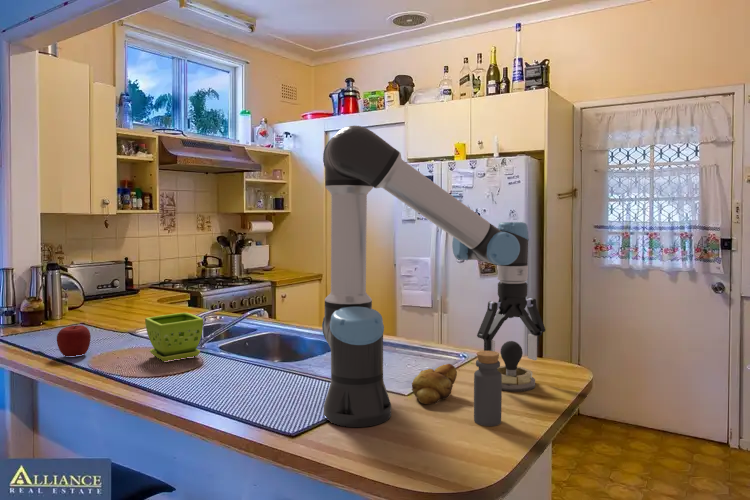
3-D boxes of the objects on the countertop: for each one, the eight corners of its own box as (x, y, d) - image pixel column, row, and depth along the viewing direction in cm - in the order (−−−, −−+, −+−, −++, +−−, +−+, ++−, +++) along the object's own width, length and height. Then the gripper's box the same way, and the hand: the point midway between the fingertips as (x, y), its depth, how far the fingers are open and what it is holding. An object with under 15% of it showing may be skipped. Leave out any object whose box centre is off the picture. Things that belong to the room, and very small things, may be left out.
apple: (53, 361, 169) (51, 329, 169) (63, 353, 179) (61, 323, 178) (86, 359, 172) (85, 327, 171) (94, 351, 181) (93, 321, 180)
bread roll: (437, 410, 126) (438, 376, 126) (400, 402, 131) (400, 369, 131) (459, 394, 137) (459, 362, 137) (424, 388, 142) (424, 357, 142)
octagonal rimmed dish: (506, 394, 137) (506, 380, 136) (478, 381, 148) (478, 368, 147) (545, 387, 142) (545, 374, 142) (515, 375, 153) (515, 362, 152)
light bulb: (500, 381, 142) (500, 343, 142) (499, 375, 148) (500, 338, 147) (522, 382, 141) (523, 344, 140) (521, 376, 147) (522, 339, 146)
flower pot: (145, 357, 174) (143, 317, 173) (188, 349, 183) (187, 311, 182) (160, 366, 164) (159, 324, 163) (205, 358, 173) (204, 317, 172)
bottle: (484, 428, 115) (484, 357, 114) (468, 418, 121) (468, 351, 120) (506, 423, 118) (507, 354, 117) (490, 414, 123) (491, 348, 122)
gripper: (481, 286, 134) (480, 371, 136) (560, 280, 145) (558, 360, 146) (463, 282, 141) (463, 364, 143) (540, 277, 151) (539, 353, 153)
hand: (511, 362), depth 144 cm, fingers open, 13 cm apart
